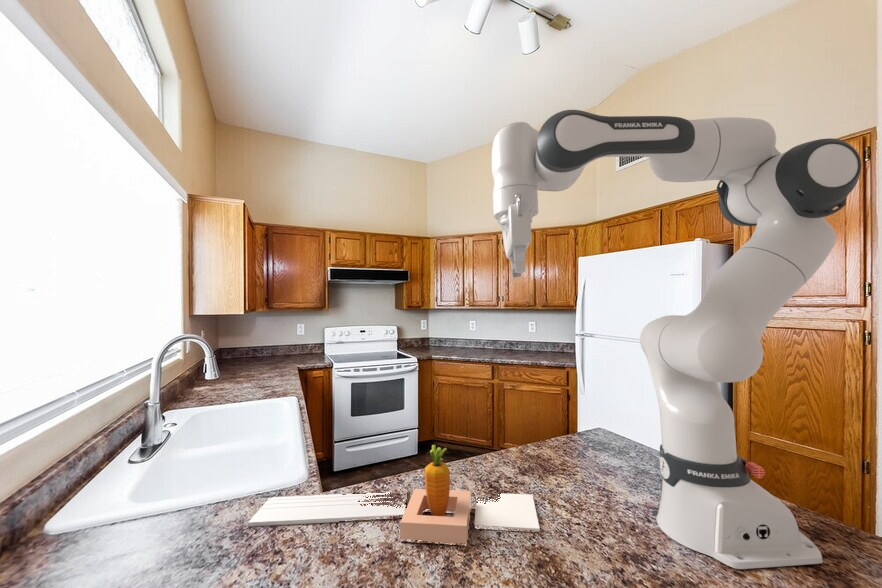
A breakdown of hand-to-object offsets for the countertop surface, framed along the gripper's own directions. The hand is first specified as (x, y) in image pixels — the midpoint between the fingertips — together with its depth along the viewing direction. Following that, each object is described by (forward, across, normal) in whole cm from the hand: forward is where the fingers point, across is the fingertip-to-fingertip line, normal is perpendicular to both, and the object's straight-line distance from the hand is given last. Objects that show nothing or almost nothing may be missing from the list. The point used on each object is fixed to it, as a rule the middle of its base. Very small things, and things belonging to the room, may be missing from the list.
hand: (518, 275), depth 70 cm
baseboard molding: (+49, +2, +40) cm, 63 cm away
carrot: (+48, -2, +17) cm, 51 cm away
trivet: (+48, +3, +4) cm, 48 cm away
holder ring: (+48, -2, +17) cm, 51 cm away
